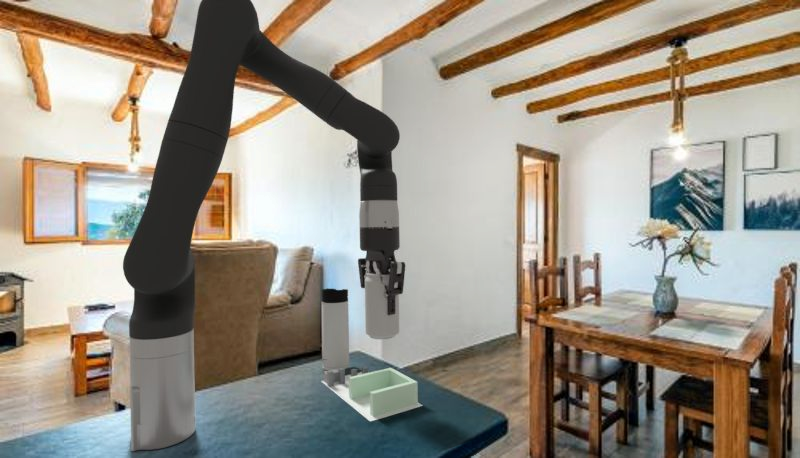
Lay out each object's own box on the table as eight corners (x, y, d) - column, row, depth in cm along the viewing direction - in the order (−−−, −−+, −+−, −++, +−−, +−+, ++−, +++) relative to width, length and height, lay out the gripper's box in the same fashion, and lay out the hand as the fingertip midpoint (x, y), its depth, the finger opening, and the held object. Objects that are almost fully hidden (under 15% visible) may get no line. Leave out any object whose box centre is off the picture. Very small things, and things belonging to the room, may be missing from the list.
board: (370, 428, 71) (369, 403, 70) (321, 386, 89) (320, 367, 89) (422, 411, 76) (422, 389, 76) (366, 376, 95) (366, 357, 95)
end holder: (373, 416, 72) (372, 393, 72) (349, 397, 80) (348, 377, 80) (417, 403, 77) (417, 382, 77) (391, 386, 85) (390, 367, 85)
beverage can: (400, 331, 82) (399, 270, 82) (397, 340, 75) (396, 274, 75) (368, 331, 82) (367, 270, 82) (362, 340, 76) (361, 274, 76)
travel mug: (317, 375, 96) (316, 288, 96) (329, 365, 102) (327, 284, 102) (342, 377, 95) (341, 289, 94) (353, 367, 101) (351, 285, 101)
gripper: (344, 225, 83) (346, 310, 83) (381, 225, 71) (383, 324, 71) (377, 225, 87) (379, 306, 87) (417, 224, 75) (419, 318, 75)
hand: (381, 313), depth 79 cm, fingers closed on beverage can, 5 cm apart
